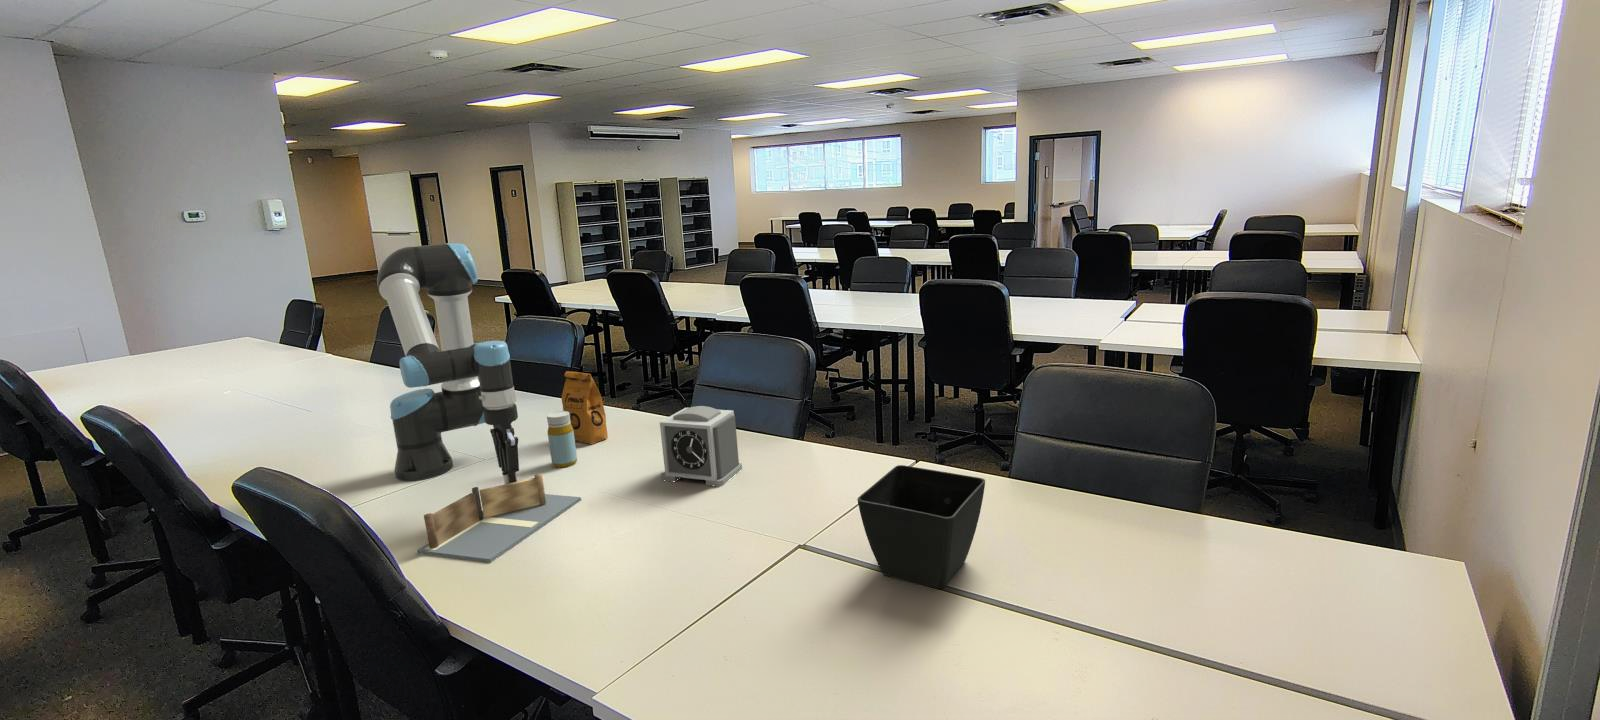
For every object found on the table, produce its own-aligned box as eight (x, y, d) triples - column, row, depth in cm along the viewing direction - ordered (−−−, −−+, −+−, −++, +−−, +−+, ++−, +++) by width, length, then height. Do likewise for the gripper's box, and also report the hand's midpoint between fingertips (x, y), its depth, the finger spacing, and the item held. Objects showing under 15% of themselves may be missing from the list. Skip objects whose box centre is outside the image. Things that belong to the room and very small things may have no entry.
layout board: (490, 562, 160) (489, 558, 160) (417, 553, 167) (416, 549, 166) (581, 500, 191) (580, 496, 190) (516, 494, 197) (515, 491, 197)
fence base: (434, 549, 166) (428, 515, 164) (427, 548, 167) (421, 515, 165) (485, 518, 181) (480, 487, 179) (479, 517, 182) (474, 486, 180)
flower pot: (953, 604, 134) (951, 516, 130) (858, 580, 144) (854, 498, 140) (987, 557, 150) (987, 478, 146) (900, 538, 160) (897, 464, 156)
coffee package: (588, 447, 231) (579, 377, 226) (562, 441, 238) (553, 374, 233) (613, 437, 239) (605, 370, 234) (588, 432, 246) (579, 366, 241)
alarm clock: (660, 480, 200) (653, 415, 196) (685, 463, 212) (679, 400, 208) (721, 487, 193) (715, 419, 189) (744, 468, 205) (738, 404, 201)
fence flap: (484, 518, 180) (479, 489, 179) (483, 515, 182) (478, 487, 180) (546, 503, 187) (542, 475, 185) (545, 501, 188) (541, 473, 187)
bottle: (570, 468, 214) (563, 417, 210) (547, 468, 215) (540, 417, 212) (581, 459, 220) (575, 410, 217) (560, 459, 222) (553, 410, 218)
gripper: (475, 403, 184) (489, 494, 189) (492, 414, 174) (506, 509, 179) (506, 397, 188) (519, 485, 194) (524, 407, 178) (537, 499, 184)
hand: (513, 496), depth 186 cm, fingers closed
